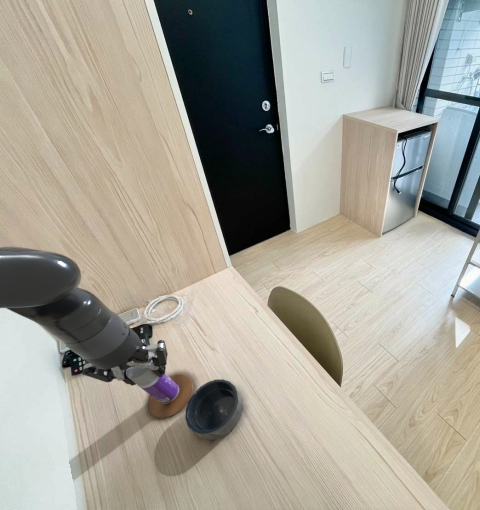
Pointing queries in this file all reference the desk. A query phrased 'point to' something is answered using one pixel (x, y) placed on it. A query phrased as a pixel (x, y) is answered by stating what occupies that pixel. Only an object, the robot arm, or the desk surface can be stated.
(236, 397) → the bowl
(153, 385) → the container
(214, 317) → the desk surface
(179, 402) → the coaster
